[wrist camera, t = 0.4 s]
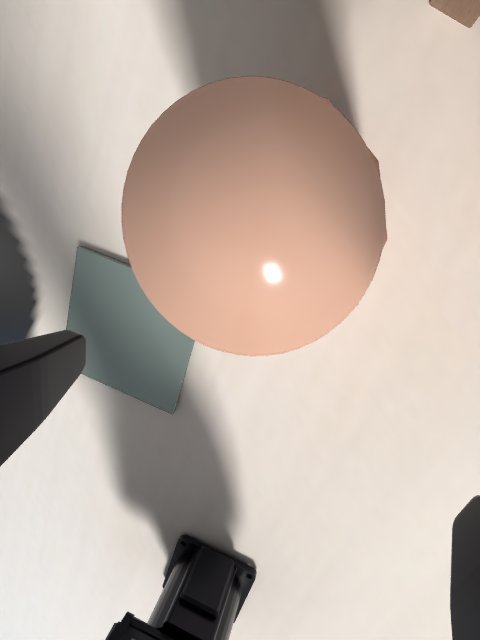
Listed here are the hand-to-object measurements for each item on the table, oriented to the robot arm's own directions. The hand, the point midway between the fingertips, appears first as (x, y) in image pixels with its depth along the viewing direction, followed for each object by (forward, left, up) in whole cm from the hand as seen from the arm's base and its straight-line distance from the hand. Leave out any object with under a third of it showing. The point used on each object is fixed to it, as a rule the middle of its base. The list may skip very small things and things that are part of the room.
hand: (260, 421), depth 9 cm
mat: (-8, +10, -15) cm, 20 cm away
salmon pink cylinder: (+3, +2, -15) cm, 15 cm away
